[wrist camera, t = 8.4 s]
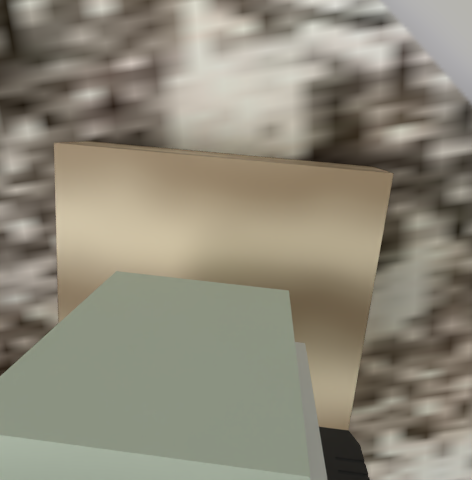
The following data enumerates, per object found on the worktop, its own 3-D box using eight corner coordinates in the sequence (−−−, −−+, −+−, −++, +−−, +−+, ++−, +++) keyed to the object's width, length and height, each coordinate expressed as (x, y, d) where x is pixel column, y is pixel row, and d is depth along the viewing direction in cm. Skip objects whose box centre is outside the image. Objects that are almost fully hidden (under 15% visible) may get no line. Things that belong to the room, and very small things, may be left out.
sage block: (269, 438, 16) (269, 732, 8) (113, 418, 16) (-30, 681, 8) (288, 290, 14) (310, 476, 7) (115, 271, 15) (-57, 427, 7)
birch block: (330, 411, 24) (342, 464, 20) (93, 382, 25) (61, 428, 21) (370, 166, 21) (393, 173, 17) (92, 141, 21) (54, 142, 18)
